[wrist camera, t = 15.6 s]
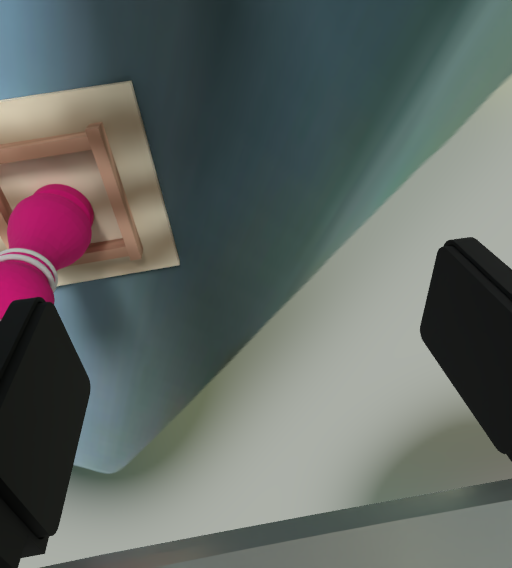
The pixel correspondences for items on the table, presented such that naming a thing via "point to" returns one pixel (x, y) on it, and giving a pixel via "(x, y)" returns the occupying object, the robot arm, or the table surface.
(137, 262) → the board
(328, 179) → the table surface
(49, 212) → the pepper mill
